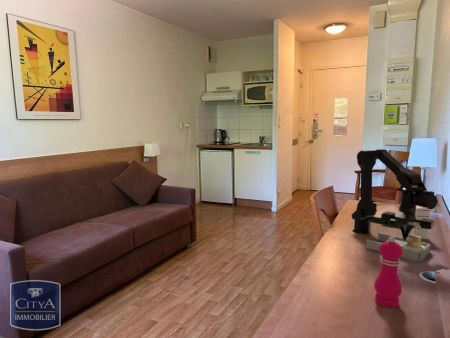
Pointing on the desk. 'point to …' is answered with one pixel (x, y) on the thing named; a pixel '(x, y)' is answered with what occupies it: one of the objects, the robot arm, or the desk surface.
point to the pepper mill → (389, 274)
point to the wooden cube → (414, 241)
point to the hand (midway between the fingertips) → (404, 239)
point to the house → (386, 208)
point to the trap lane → (408, 251)
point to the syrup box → (421, 214)
